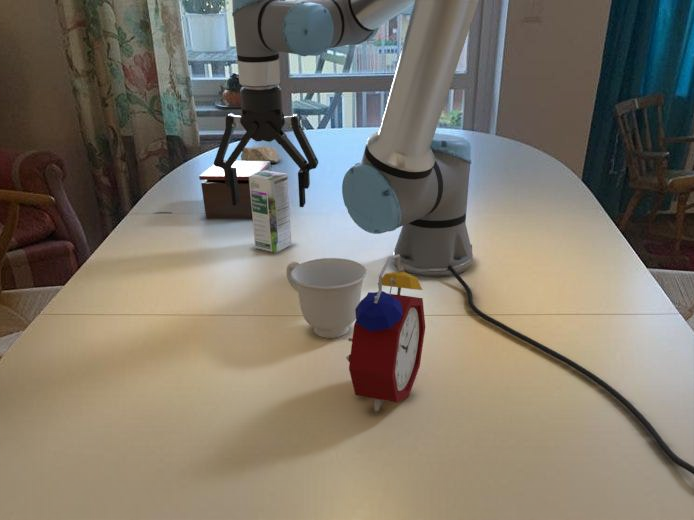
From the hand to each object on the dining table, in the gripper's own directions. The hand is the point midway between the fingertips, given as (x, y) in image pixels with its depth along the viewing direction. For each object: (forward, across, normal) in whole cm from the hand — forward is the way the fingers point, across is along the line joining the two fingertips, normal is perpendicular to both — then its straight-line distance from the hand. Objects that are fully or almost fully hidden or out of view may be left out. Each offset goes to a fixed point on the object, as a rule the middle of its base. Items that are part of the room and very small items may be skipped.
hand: (269, 204), depth 147 cm
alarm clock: (+8, -27, +57) cm, 64 cm away
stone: (+10, +17, -66) cm, 69 cm away
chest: (+9, +13, -25) cm, 29 cm away
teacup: (+8, -16, +37) cm, 41 cm away
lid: (+1, +13, -24) cm, 28 cm away
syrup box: (+9, 0, 0) cm, 9 cm away
